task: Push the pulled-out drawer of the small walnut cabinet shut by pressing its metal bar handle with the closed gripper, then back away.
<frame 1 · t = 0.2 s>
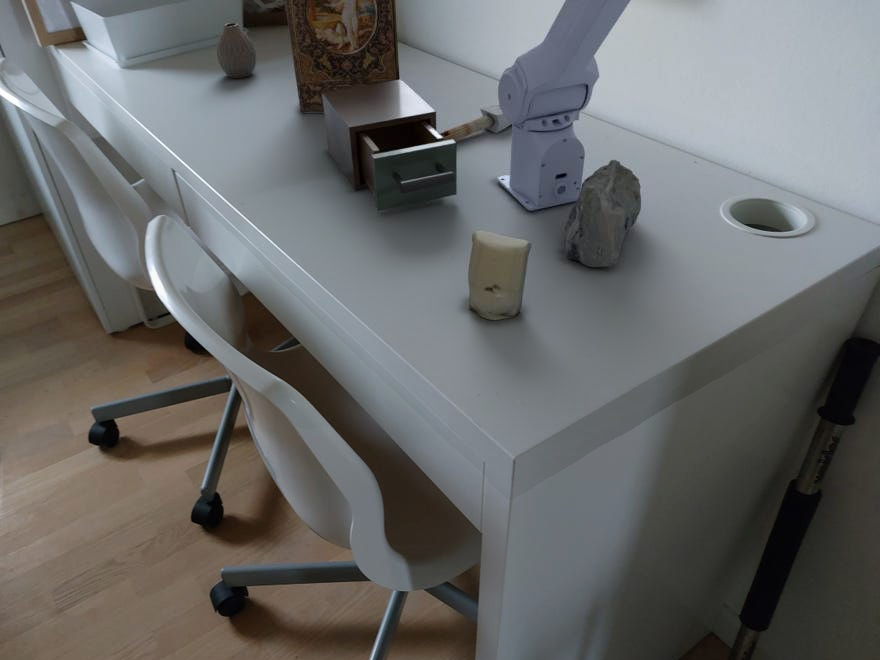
drawer: (405, 164, 89), point 4 cm above the table, slide at 7.0 cm
cabinet: (381, 162, 100), on the table
cream tall block: (497, 310, 72), on the table
book: (349, 107, 117), on the table
paintbrush: (486, 131, 107), on the table
mineral rock: (607, 242, 81), on the table
vase: (240, 75, 133), on the table
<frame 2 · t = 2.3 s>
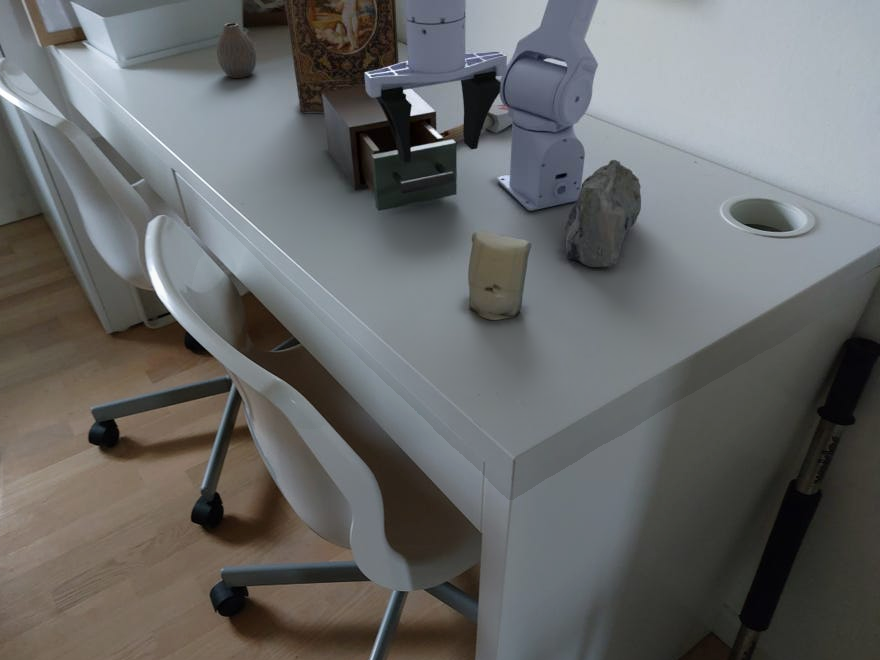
hand: (437, 152, 77), 10 cm above the table, tool pointing down, fingers open, 7 cm apart
nothing on the table moved.
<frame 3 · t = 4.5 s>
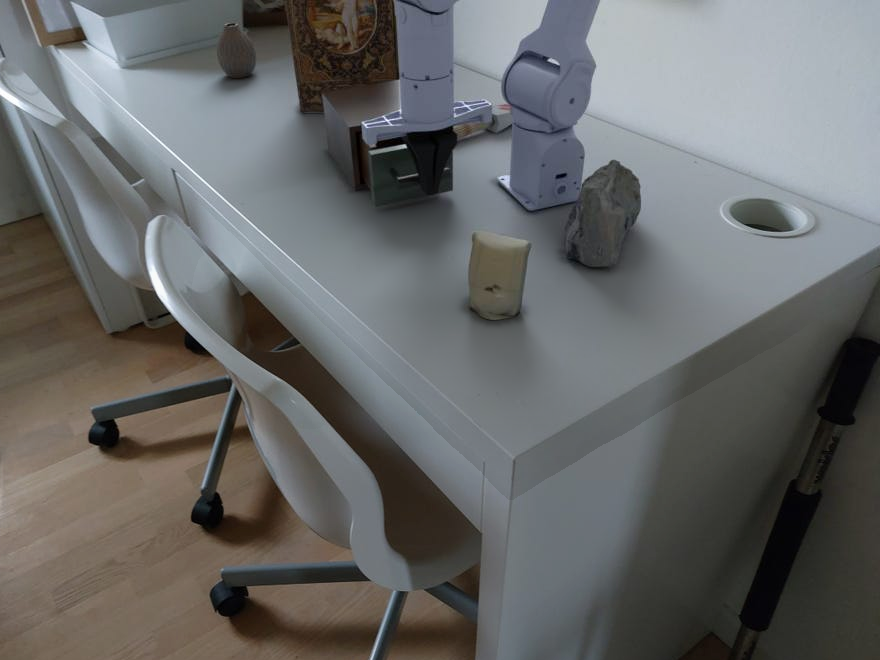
hand: (429, 191, 83), 4 cm above the table, tool pointing down, fingers closed, pressing on drawer
drawer: (402, 160, 90), point 4 cm above the table, slide at 5.8 cm, touching gripper
everything else where it was.
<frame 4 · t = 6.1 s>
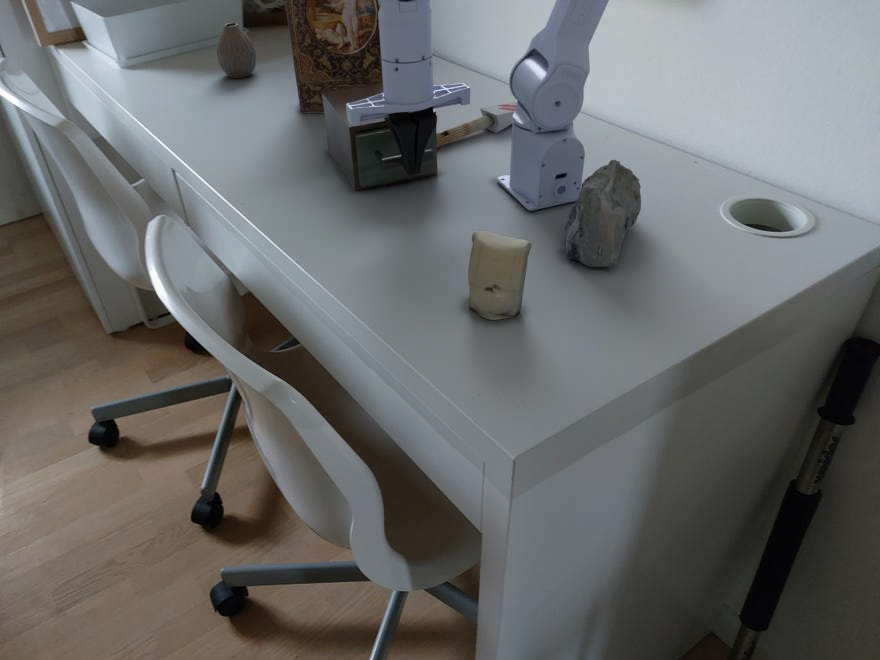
hand: (412, 171, 87), 4 cm above the table, tool pointing down, fingers closed, pressing on drawer
drawer: (387, 143, 94), point 4 cm above the table, slide at 0.0 cm, touching cabinet, gripper
everything else where it was.
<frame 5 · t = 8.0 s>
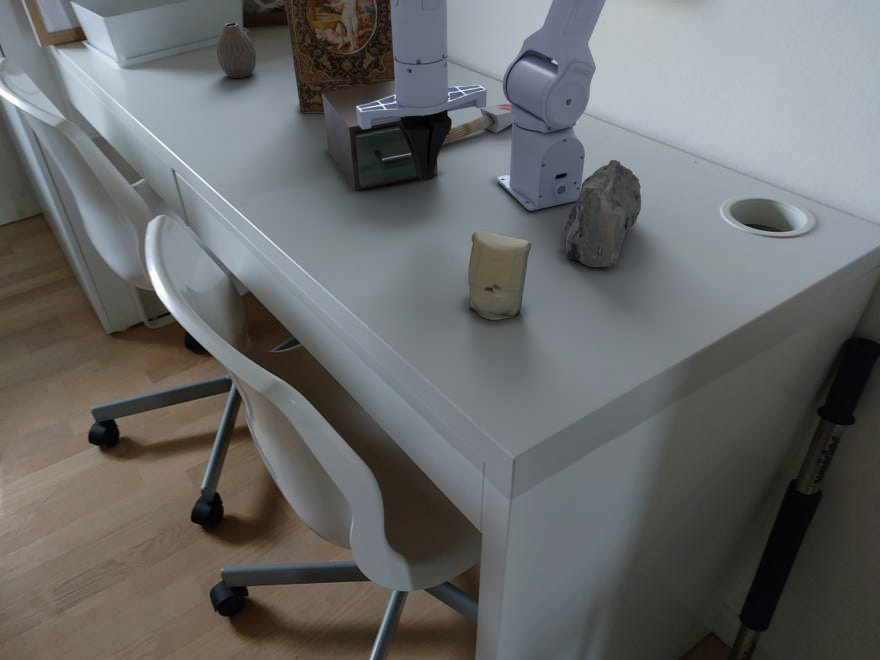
hand: (424, 176, 83), 6 cm above the table, tool pointing down, fingers closed
drawer: (387, 143, 94), point 4 cm above the table, slide at 0.0 cm
everything else where it was.
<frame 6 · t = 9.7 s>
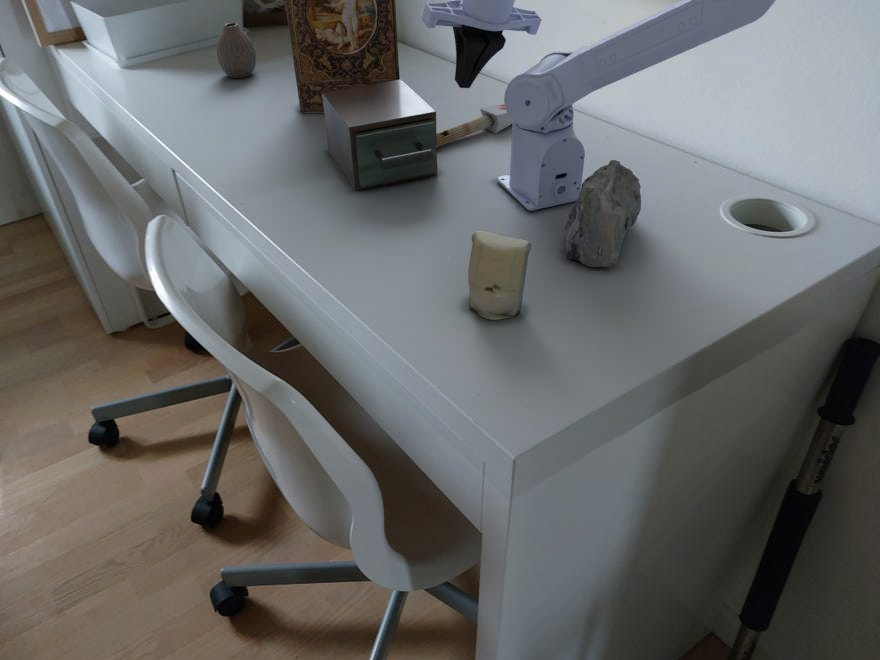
hand: (462, 83, 89), 12 cm above the table, tool tilted 20°, fingers closed
nothing on the table moved.
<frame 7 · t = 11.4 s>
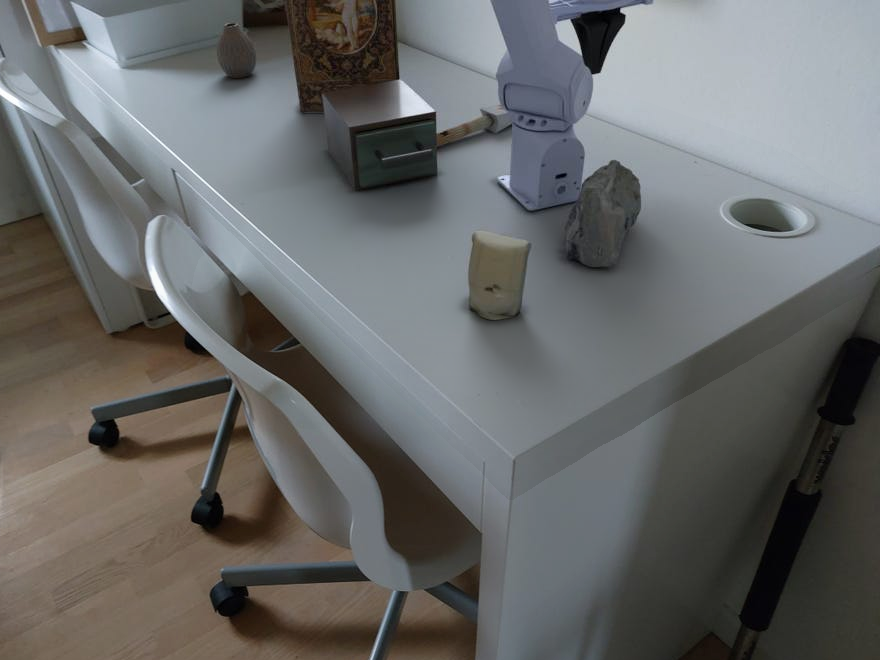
hand: (592, 71, 93), 11 cm above the table, tool pointing down, fingers closed
nothing on the table moved.
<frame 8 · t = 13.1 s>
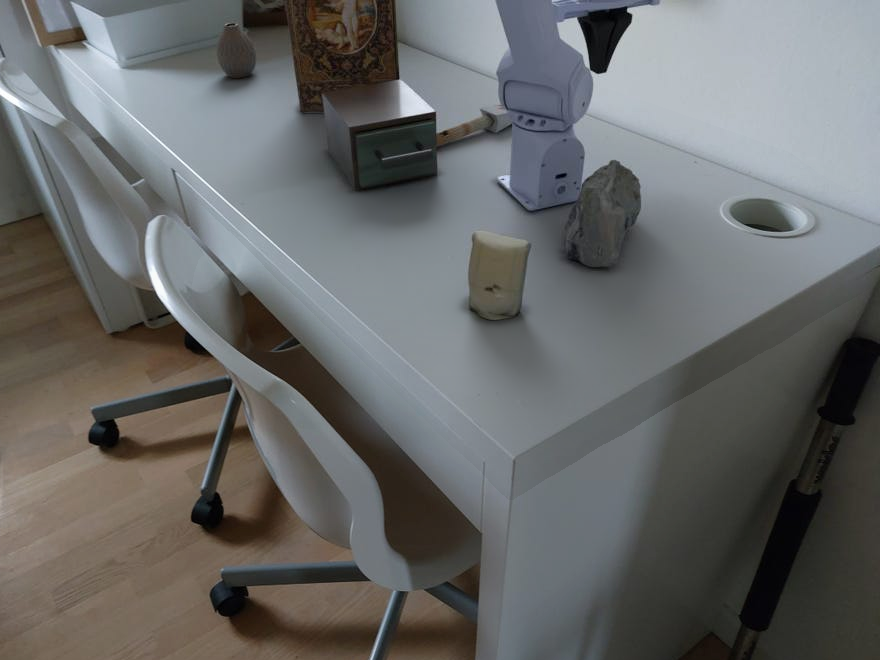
hand: (598, 71, 94), 10 cm above the table, tool pointing down, fingers closed
nothing on the table moved.
at the end: drawer slide at 0.0 cm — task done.
